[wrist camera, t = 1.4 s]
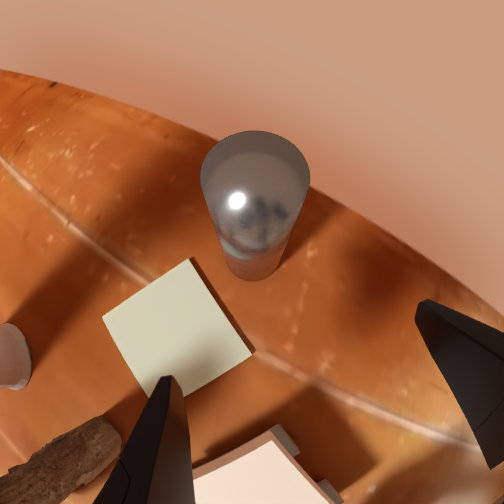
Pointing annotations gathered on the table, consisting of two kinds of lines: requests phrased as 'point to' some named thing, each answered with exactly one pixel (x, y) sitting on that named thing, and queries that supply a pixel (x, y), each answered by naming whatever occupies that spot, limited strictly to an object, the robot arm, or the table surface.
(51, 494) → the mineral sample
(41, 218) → the table surface
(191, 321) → the mat
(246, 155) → the silver metal cylinder
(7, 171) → the table surface
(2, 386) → the container
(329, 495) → the slab on rollers
